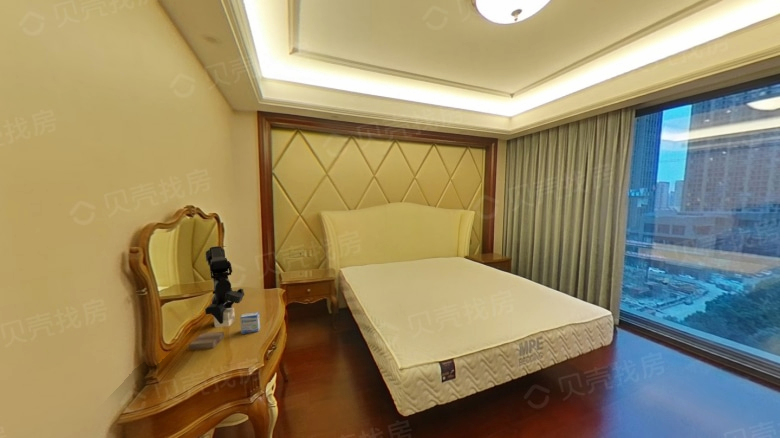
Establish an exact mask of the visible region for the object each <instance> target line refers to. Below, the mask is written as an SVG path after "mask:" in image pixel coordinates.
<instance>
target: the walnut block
mask: <svg viewBox="0 0 780 438" xmlns="http://www.w3.org/2000/svg"><path fill="white" fill-rule="evenodd" d="M224 338H225V331H215V332H203V333H201V334H200V335H198V336H197V337H196V338H195V339H194V340H193V341H192V342H191V343H189V350H190V351H194V350H205V349H207V350H208V349H214V348H216V346H217V345H218V344H219V343H221V341H222V340H223V339H224Z"/></svg>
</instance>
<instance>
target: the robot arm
mask: <svg viewBox="0 0 780 438" xmlns="http://www.w3.org/2000/svg"><path fill="white" fill-rule="evenodd" d="M205 262H207V264H208V266H209V271H210V273H209V274H210V279H212V281H213V282H212V283H213V284H212V285H213V291H212V294H213V296H212V298H211V303H210V305H208V306H207V307H206V308H205V309H204V312H205V315H212V316H213V318H214V317H215V318H216V319H217V321H218V322H219V323H220V324H222V323H223V313H224V311H225V310H226V309H224V308H233V306H234V305H233V304H240V302H242V301H243V298H244V297H245V292H244V288H239V289H238V290H233V287H232V283H231V281H230V279H229V276H232V273H233V267H232V263H231V262H230V260H228V258H227V257H226V250H225V249H224V248H222V246H220V245H218V246H217V245H216V246H211V247H209V248H208V250H207V251H205ZM211 326H214V327H215V323H214V322H213V323H212V325H211Z"/></svg>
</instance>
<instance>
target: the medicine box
mask: <svg viewBox="0 0 780 438" xmlns="http://www.w3.org/2000/svg"><path fill="white" fill-rule="evenodd" d="M260 329H261V321H260V312H259V311H257V312H250V313H242V314H241V316H240V331H241V334H242V335H244V334H250V333H257V332H259V331H260Z"/></svg>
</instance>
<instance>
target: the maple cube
mask: <svg viewBox="0 0 780 438" xmlns="http://www.w3.org/2000/svg"><path fill="white" fill-rule="evenodd" d="M224 309H226V310H225V311H224V313H223V323H222V324H220V323H219V322H218V321H217V319H216V318H215V317H214V316H213V321H214V322H213V323H215V325H214V328H222V327H230V326H231V325H232V324H233V323H234V322H235V321H236V317H235V307H232V308H224Z"/></svg>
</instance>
